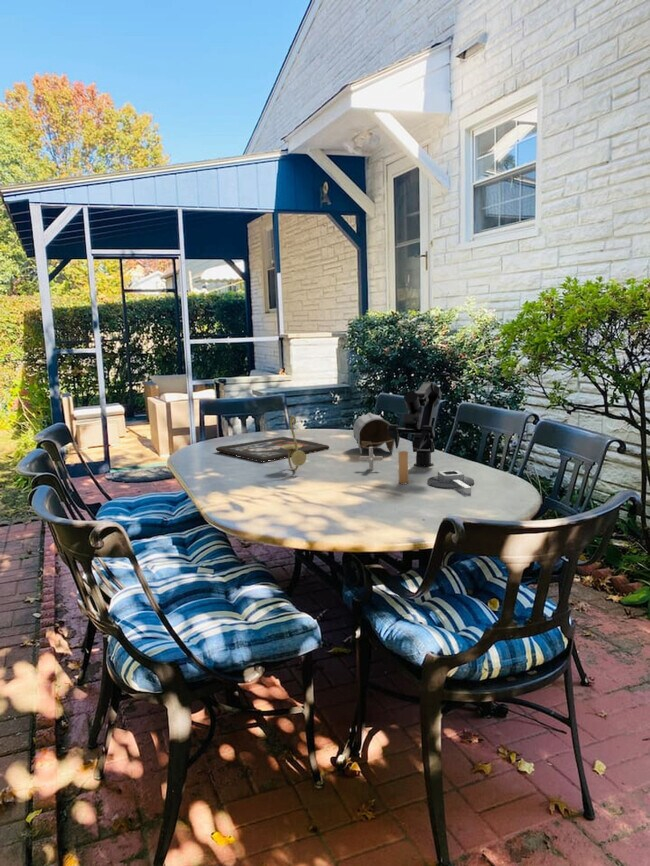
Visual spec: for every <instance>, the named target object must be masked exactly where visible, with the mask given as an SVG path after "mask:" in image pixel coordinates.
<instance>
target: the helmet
mask: <svg viewBox="0 0 650 866" xmlns="http://www.w3.org/2000/svg"><path fill="white" fill-rule="evenodd" d="M389 425H392V424H391V423H390V422H389V421H387V419H384V418H383V417H381V415H378V414H375V413H372V412H368V413H367V414H364V415H361V416H359V417H358V418H357V419H356V420H355V422H354V424H353V438H354V440H355V441H356V444H357V446H358V449H359V453H360V455H363V449H367V450H369V447H373V448H374V449H377V448H379V447H381V446H383V445H384V444H385V445H386V448H387V450H388V451H389V453H391V454H392V453H393V451H394V448H395V447H394V446H395V439H393V438H392V437H390V435H389V432H388V430H387V429H388V426H389Z"/></svg>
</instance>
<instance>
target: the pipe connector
mask: <svg viewBox="0 0 650 866" xmlns="http://www.w3.org/2000/svg"><path fill="white" fill-rule="evenodd" d="M359 461H367V463H369V466H368V468H369V471H373V470H374V461H384V457H383V456H382V455H381V456H379V455H376V456H375V454H374V449H373V447H369V449H368V455H365V456H363V455H359Z"/></svg>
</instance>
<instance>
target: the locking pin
mask: <svg viewBox="0 0 650 866" xmlns="http://www.w3.org/2000/svg"><path fill="white" fill-rule="evenodd" d="M408 454H409V453H408V451H405V450H403V451H402V450H401V451H398V484H399V483H401V484H400V485H406V484H405V483H408V484H409V466H408V464H409V458H408V457H409V456H408Z"/></svg>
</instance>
